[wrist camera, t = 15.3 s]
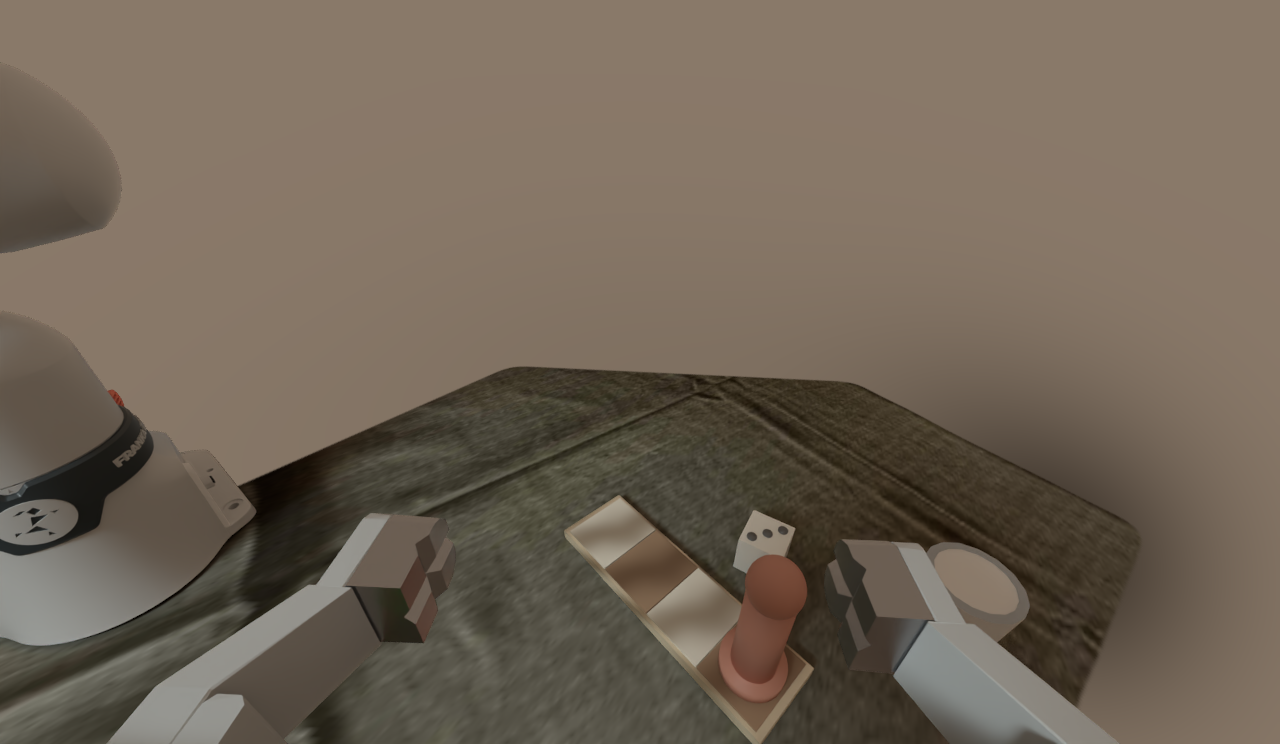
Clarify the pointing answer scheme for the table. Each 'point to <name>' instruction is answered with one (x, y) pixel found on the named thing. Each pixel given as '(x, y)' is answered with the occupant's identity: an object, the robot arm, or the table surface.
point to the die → (762, 540)
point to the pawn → (763, 630)
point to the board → (678, 607)
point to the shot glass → (980, 588)
